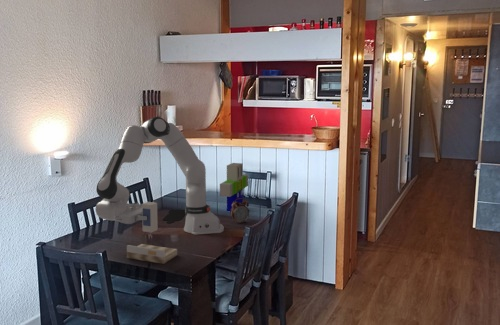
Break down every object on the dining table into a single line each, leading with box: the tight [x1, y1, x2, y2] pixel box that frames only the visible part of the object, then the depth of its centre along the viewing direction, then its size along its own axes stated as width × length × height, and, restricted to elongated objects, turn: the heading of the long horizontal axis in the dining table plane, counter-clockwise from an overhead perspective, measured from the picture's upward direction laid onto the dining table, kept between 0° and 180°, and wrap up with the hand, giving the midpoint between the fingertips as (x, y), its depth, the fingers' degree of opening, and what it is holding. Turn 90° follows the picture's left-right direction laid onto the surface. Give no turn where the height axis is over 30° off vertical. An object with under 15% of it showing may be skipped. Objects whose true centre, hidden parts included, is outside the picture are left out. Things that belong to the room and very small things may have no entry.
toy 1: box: [161, 209, 186, 225], centre depth 293 cm, size 12×1×30 cm
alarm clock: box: [229, 197, 250, 225], centre depth 279 cm, size 11×5×15 cm, turn 115°
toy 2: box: [219, 162, 249, 213], centre depth 306 cm, size 34×7×30 cm, turn 161°
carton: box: [141, 201, 159, 234], centre depth 221 cm, size 5×5×13 cm
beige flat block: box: [126, 243, 178, 264], centre depth 224 cm, size 20×12×6 cm, turn 69°
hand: (151, 216), depth 221 cm, fingers closed on carton, 5 cm apart
